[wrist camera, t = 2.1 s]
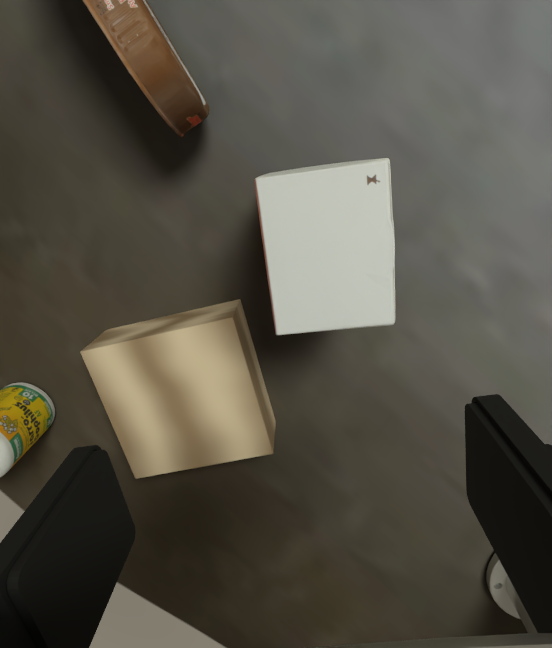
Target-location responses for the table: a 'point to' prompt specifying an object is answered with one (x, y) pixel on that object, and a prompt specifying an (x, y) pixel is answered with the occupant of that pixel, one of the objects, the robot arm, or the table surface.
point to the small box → (329, 246)
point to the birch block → (183, 390)
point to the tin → (151, 61)
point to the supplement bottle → (22, 421)
